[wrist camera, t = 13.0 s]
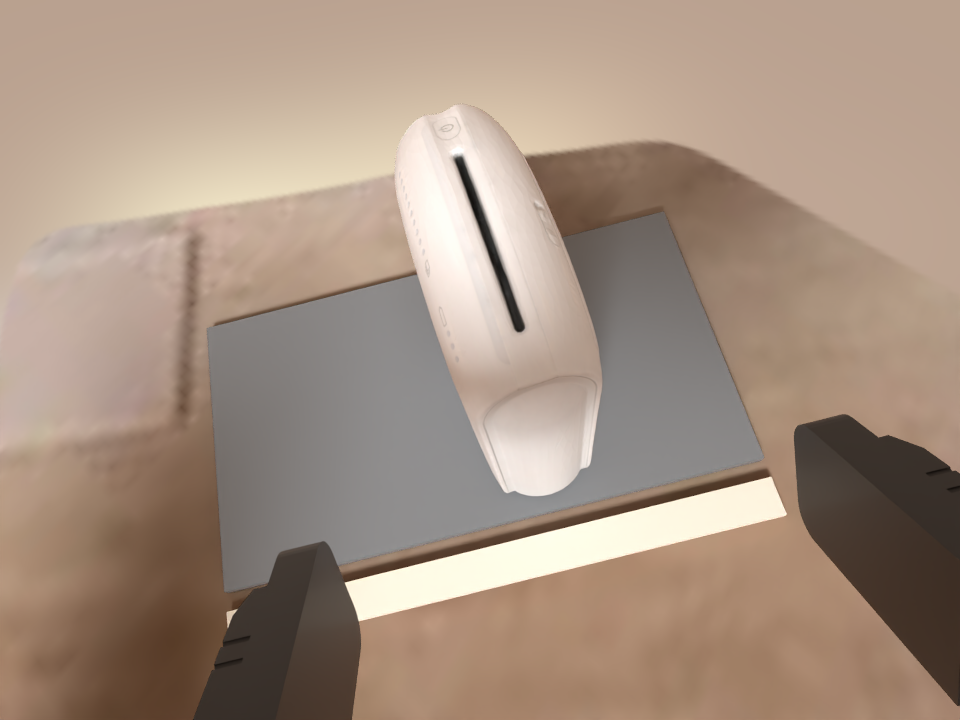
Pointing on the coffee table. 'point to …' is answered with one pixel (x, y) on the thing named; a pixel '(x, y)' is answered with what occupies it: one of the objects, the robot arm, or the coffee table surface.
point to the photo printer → (501, 298)
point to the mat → (468, 432)
